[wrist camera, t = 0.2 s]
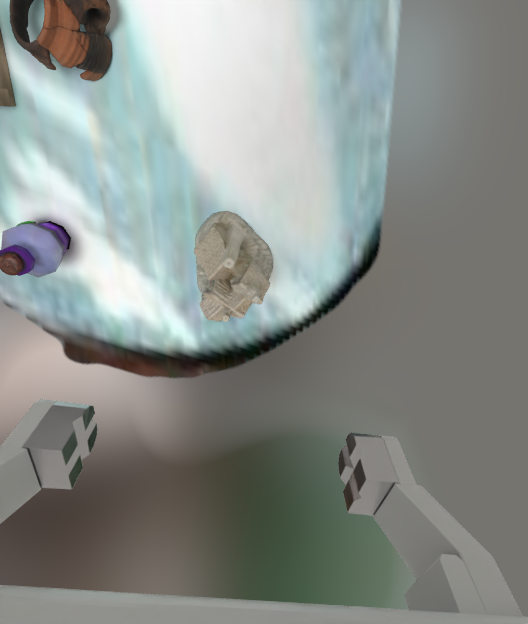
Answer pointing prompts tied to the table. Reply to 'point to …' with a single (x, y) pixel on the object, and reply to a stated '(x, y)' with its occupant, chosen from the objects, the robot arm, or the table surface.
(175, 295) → the table surface
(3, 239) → the potion bottle
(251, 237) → the ceramic cottage
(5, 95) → the square wooden tray
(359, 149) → the table surface
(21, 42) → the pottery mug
